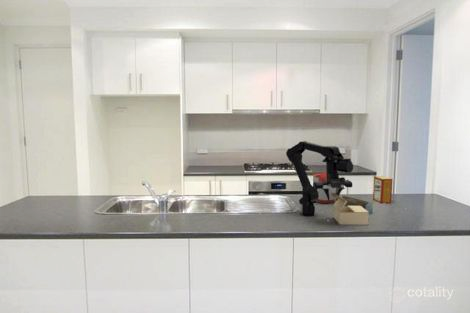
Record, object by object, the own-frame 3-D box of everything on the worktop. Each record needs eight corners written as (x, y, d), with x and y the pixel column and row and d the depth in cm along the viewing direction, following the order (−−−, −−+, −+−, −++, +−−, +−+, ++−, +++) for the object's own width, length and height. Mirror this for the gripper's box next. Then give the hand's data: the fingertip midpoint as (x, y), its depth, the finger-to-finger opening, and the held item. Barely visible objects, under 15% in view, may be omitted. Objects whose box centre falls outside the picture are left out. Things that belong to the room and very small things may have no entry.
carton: (339, 224, 154) (340, 211, 153) (333, 217, 165) (334, 205, 164) (367, 224, 154) (368, 211, 153) (359, 217, 165) (360, 205, 164)
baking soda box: (373, 199, 201) (374, 175, 199) (382, 199, 202) (383, 175, 200) (381, 203, 192) (382, 178, 190) (391, 203, 192) (392, 178, 191)
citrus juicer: (309, 203, 192) (310, 172, 190) (313, 197, 208) (314, 168, 206) (335, 206, 186) (336, 174, 184) (338, 199, 202) (339, 169, 200)
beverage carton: (365, 215, 169) (365, 203, 168) (335, 207, 184) (335, 197, 183) (372, 212, 174) (373, 201, 173) (342, 205, 189) (343, 195, 188)
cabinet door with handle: (340, 212, 154) (329, 206, 153) (334, 206, 164) (324, 201, 164) (347, 201, 153) (337, 195, 153) (341, 196, 163) (331, 190, 163)
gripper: (317, 174, 149) (318, 205, 150) (356, 172, 148) (356, 203, 150) (312, 170, 160) (313, 200, 162) (348, 169, 159) (348, 198, 161)
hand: (332, 200), depth 158 cm, fingers open, 4 cm apart
